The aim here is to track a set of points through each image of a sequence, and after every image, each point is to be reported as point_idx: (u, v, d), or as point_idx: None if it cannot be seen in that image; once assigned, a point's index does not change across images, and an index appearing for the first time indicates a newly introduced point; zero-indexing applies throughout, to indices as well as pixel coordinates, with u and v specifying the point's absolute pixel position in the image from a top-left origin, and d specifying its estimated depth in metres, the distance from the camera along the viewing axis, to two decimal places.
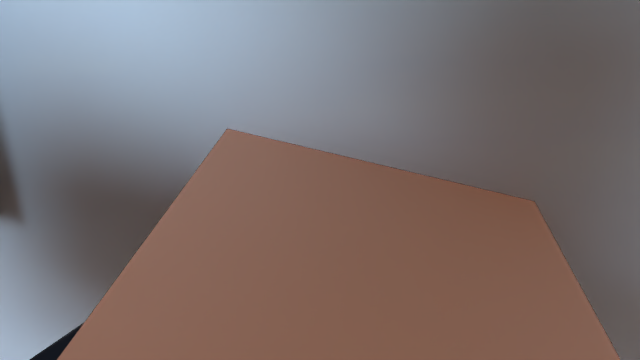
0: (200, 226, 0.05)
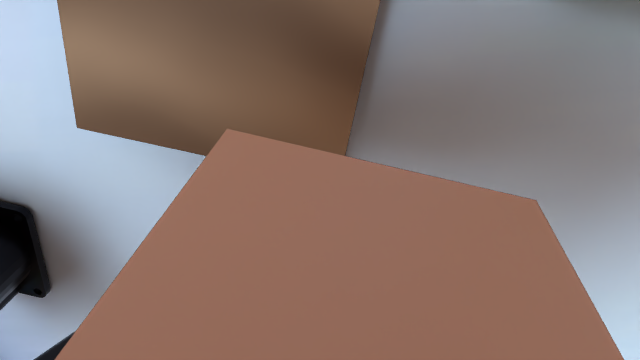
0: (197, 230, 0.05)
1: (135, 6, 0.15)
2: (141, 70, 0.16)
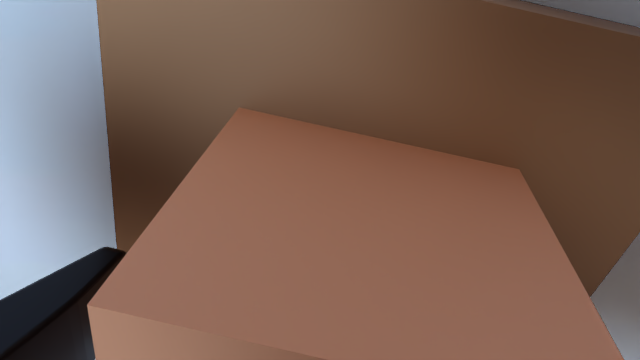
0: (217, 187, 0.06)
1: None
2: None
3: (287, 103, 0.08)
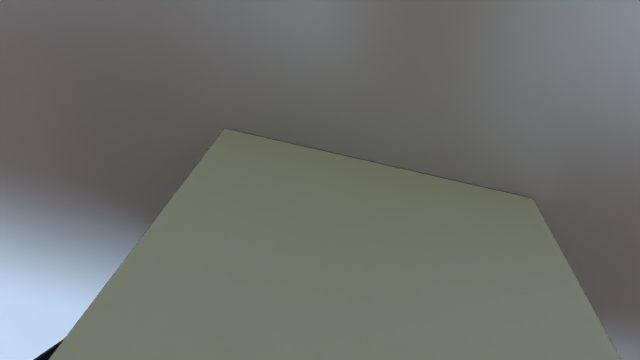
0: None
1: None
2: None
3: None
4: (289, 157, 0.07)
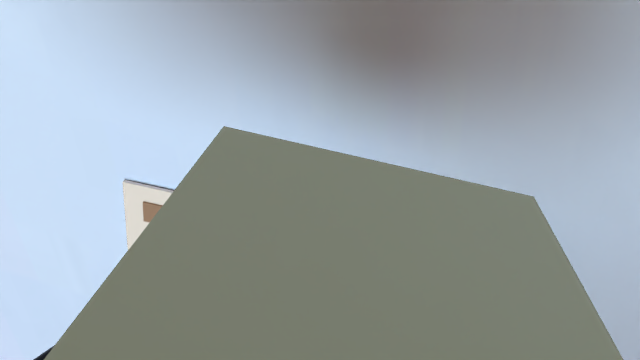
0: None
1: None
2: None
3: None
4: (289, 155, 0.07)
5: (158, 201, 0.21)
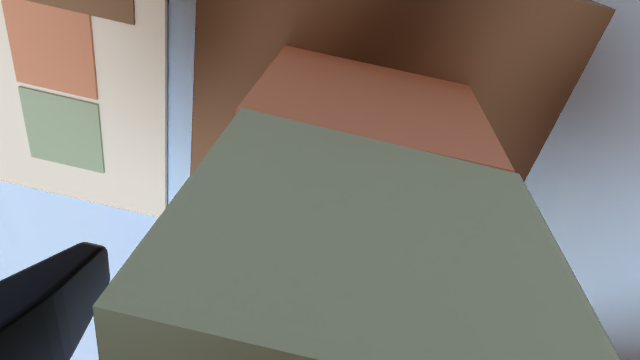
0: None
1: None
2: None
3: None
4: (300, 133, 0.08)
5: None
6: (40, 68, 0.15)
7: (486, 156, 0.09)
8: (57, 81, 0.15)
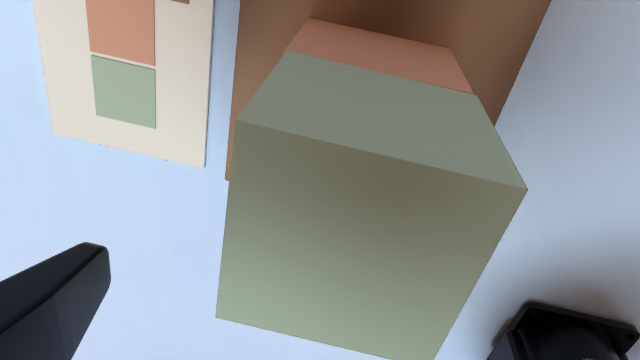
0: None
1: None
2: None
3: None
4: (328, 65, 0.12)
5: None
6: (110, 40, 0.19)
7: (455, 85, 0.12)
8: (123, 50, 0.19)
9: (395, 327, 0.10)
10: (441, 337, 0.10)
